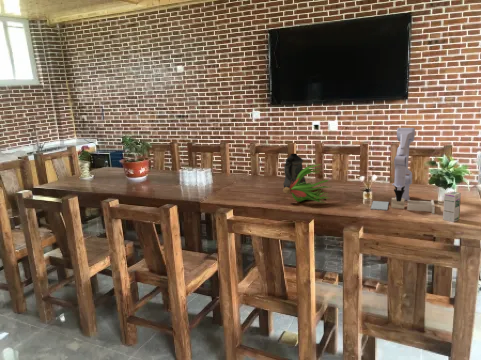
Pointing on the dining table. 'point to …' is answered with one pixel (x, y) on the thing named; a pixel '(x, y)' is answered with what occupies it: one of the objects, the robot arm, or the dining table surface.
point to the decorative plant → (305, 187)
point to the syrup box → (451, 206)
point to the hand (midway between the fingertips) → (398, 199)
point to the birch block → (397, 203)
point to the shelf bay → (421, 206)
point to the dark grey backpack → (293, 170)
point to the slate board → (379, 205)
